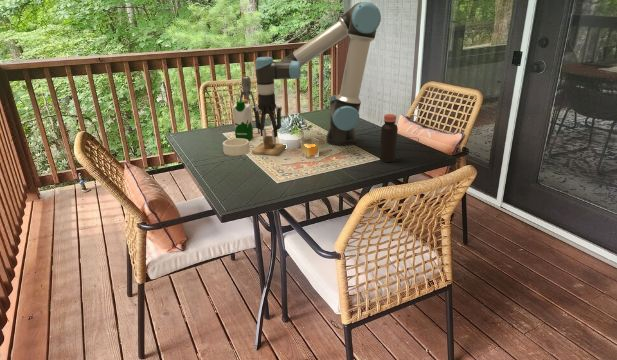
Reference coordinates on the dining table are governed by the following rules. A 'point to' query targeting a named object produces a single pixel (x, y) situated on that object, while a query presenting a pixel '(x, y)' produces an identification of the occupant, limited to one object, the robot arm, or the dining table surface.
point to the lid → (269, 147)
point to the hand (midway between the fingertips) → (269, 143)
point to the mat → (268, 154)
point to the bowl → (236, 147)
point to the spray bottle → (247, 91)
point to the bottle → (388, 139)
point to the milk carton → (243, 120)
